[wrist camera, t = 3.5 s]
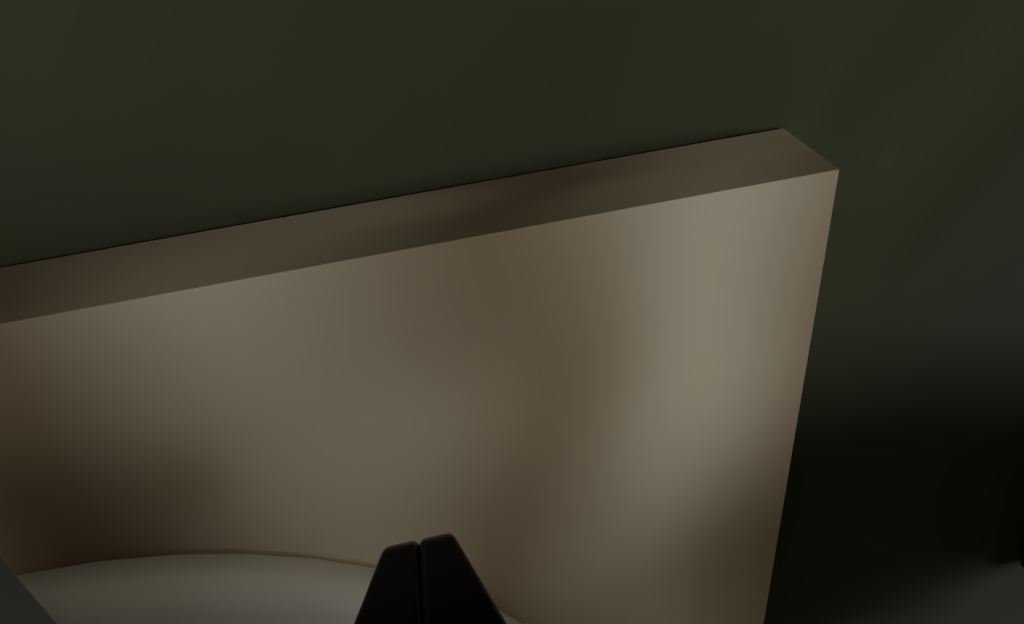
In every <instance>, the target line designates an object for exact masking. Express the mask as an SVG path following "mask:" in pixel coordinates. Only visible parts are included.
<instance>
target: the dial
mask: <svg viewBox="0 0 1024 624" xmlns="http://www.w3.org/2000/svg"><path fill="white" fill-rule="evenodd" d="M375 569H376V568H371V567H364V566H358V565H352V564H346V563H340V562H334V561H327V560H321V559H310V558H297V557H283V556H270V555H256V554H185V555H165V556H153V557H142V558H130V559H119V560H107V561H97V562H91V563H86V564H80V565H74V566H68V567H62V568H56V569H50V570H44V571H38V572H32V573H26V574H21V575H17V576H16V575H15V574H14V573H13V572H12V571H11V569H10V568H9V567H8V566H7V565H6V564H5V562H4V561H3V560H2V559H1V558H0V624H354V622H355V620H356V617H357V615H358V612H359V610H360V607H361V604H362V602H363V599H364V597H365V594H366V592H367V589H368V586H369V584H370V581H371V579H372V576H373V574H374V571H375ZM500 613H501V614H502V616H503V618H504V619H505V621H506V623H507V624H522V623H521V622H519V621H518V620H516V619H514V618H512V617H510V616H508V615H507V614H505V613H503V612H501V611H500Z"/></svg>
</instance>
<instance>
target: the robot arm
mask: <svg viewBox="0 0 1024 624" xmlns="http://www.w3.org/2000/svg"><path fill="white" fill-rule="evenodd" d="M1021 565H1022V566H1023V567H1024V556H1023V558H1022V561H1021ZM354 624H507V623H506V621H505V619H504V618H503V616H502V614H501V613H500V611H499V609H498V608H497V606H496V604H495V603H494V601H493V599H492V598H491V596H490V594H489V593H488V591H487V589H486V588H485V586H484V584H483V583H482V581H481V579H480V578H479V576H478V574H477V573H476V571H475V569H474V568H473V566H472V564H471V563H470V561H469V559H468V558H467V556H466V554H465V553H464V551H463V549H462V548H461V546H460V544H459V543H458V541H457V539H456V538H455V536H454V535H452V534H450V533H446V534H441V535H437V536H432V537H428V538H424V539H423V540H422V541H421V542H420V545H419V544H418V542H416V541H409V542H405V543H400V544H395V545H391V546H388V547H386V548H385V549H384V550H383V552H382V554H381V556H380V558H379V561H378V563H377V566H376V569H375V571H374V574H373V576H372V579H371V581H370V584H369V586H368V589H367V592H366V594H365V597H364V599H363V602H362V604H361V607H360V610H359V612H358V615H357V617H356V620H355V622H354Z"/></svg>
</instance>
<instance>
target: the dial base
mask: <svg viewBox="0 0 1024 624" xmlns="http://www.w3.org/2000/svg"><path fill="white" fill-rule="evenodd" d="M838 173H839V169H838V168H836V167H835V166H834V165H832V164H831V163H830V162H828V161H827V160H825V159H824V158H823V157H821V156H820V155H819V154H817V153H816V152H815V151H813V150H812V149H810V148H809V147H808V146H806V145H805V144H804V143H802V142H801V141H800V140H798V139H797V138H796V137H794V136H793V135H791V134H790V133H789V132H787V131H786V130H785V129H783V128H782V129H777V130H771V131H766V132H760V133H754V134H749V135H743V136H738V137H732V138H726V139H721V140H715V141H709V142H704V143H698V144H693V145H687V146H681V147H676V148H670V149H664V150H659V151H653V152H648V153H642V154H636V155H631V156H625V157H620V158H614V159H608V160H603V161H597V162H591V163H586V164H580V165H575V166H569V167H563V168H558V169H552V170H547V171H541V172H535V173H530V174H524V175H518V176H513V177H507V178H502V179H496V180H490V181H485V182H479V183H474V184H468V185H462V186H457V187H451V188H445V189H440V190H434V191H429V192H423V193H417V194H412V195H406V196H401V197H395V198H389V199H384V200H378V201H372V202H367V203H361V204H356V205H350V206H344V207H339V208H333V209H327V210H322V211H316V212H311V213H305V214H299V215H294V216H288V217H283V218H277V219H271V220H266V221H260V222H254V223H249V224H243V225H238V226H232V227H226V228H221V229H215V230H210V231H204V232H198V233H193V234H187V235H181V236H176V237H170V238H165V239H159V240H153V241H148V242H142V243H137V244H131V245H125V246H120V247H114V248H108V249H103V250H97V251H92V252H86V253H80V254H75V255H69V256H64V257H58V258H52V259H47V260H41V261H35V262H30V263H24V264H19V265H13V266H7V267H2V268H0V558H1V559H2V560H3V561H4V562H5V564H6V565H7V566H8V567H9V568H10V569H11V571H12V572H13V573H14V574H15V575H16V576H17V575H21V574H26V573H32V572H38V571H44V570H50V569H56V568H62V567H68V566H74V565H80V564H86V563H91V562H97V561H107V560H119V559H130V558H142V557H153V556H165V555H185V554H256V555H270V556H283V557H297V558H310V559H321V560H327V561H334V562H340V563H346V564H352V565H358V566H364V567H371V568H376V566H377V563H378V561H379V558H380V556H381V554H382V552H383V550H384V549H385V548H386V547H388V546H391V545H395V544H400V543H405V542H409V541H416V542H418V544H419V545H420V542H421V541H422V540H423V539H424V538H428V537H432V536H437V535H441V534H446V533H450V534H452V535H454V536H455V538H456V539H457V541H458V543H459V544H460V546H461V548H462V549H463V551H464V553H465V554H466V556H467V558H468V559H469V561H470V563H471V564H472V566H473V568H474V569H475V571H476V573H477V574H478V576H479V578H480V579H481V581H482V583H483V584H484V586H485V588H486V589H487V591H488V593H489V594H490V596H491V598H492V599H493V601H494V603H495V604H496V606H497V608H498V609H499V611H501V612H503V613H505V614H507V615H508V616H510V617H512V618H514V619H516V620H518V621H519V622H521V623H522V624H764V618H765V612H766V606H767V600H768V594H769V588H770V582H771V576H772V570H773V564H774V558H775V552H776V546H777V540H778V534H779V528H780V522H781V516H782V510H783V504H784V498H785V492H786V486H787V480H788V474H789V468H790V462H791V456H792V450H793V444H794V438H795V432H796V426H797V420H798V413H799V407H800V401H801V395H802V389H803V383H804V377H805V371H806V365H807V359H808V353H809V347H810V341H811V335H812V329H813V323H814V317H815V311H816V305H817V299H818V293H819V287H820V281H821V275H822V269H823V263H824V257H825V251H826V245H827V239H828V233H829V227H830V221H831V215H832V209H833V203H834V197H835V191H836V185H837V179H838Z"/></svg>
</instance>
